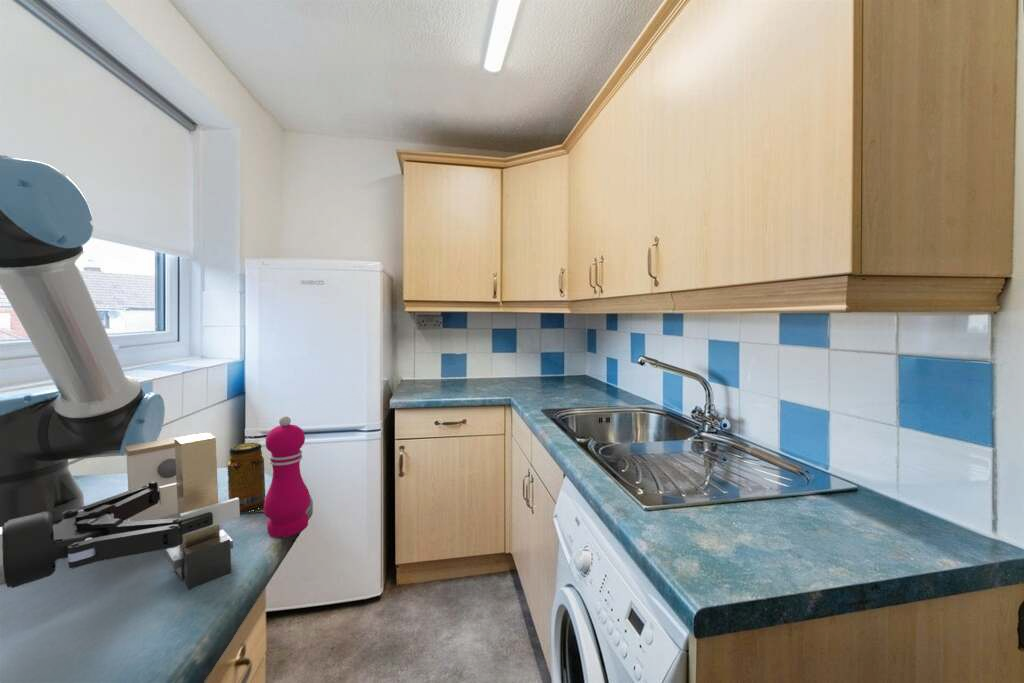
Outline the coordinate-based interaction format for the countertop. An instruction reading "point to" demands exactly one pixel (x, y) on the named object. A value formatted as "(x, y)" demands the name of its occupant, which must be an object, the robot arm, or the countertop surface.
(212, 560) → the rail
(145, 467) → the end cabinet
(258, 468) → the condiment
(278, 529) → the pepper mill
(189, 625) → the countertop surface
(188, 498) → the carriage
